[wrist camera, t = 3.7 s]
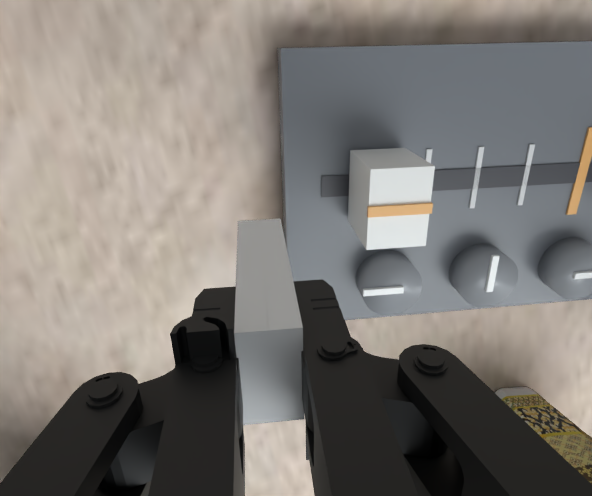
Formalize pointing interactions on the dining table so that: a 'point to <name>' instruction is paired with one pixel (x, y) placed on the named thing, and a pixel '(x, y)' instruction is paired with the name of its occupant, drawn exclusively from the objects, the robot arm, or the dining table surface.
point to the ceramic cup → (551, 427)
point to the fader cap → (390, 197)
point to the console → (444, 171)
